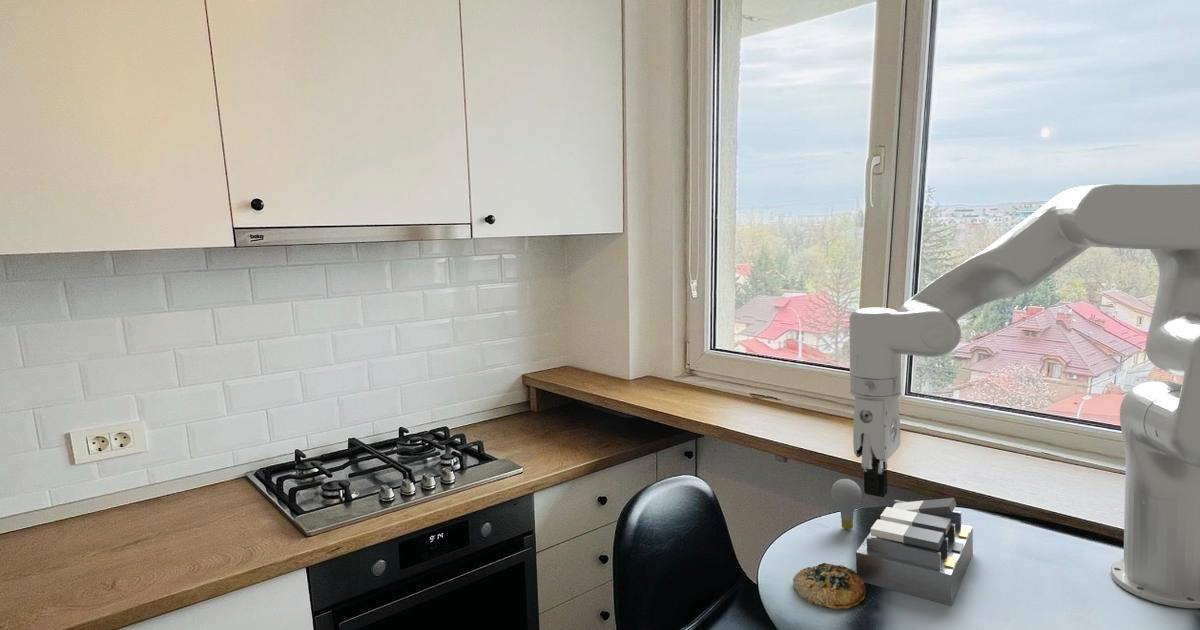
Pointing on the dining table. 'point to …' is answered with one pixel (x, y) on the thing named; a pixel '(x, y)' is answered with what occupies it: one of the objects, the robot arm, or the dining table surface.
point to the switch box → (918, 563)
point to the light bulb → (846, 500)
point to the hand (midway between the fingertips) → (875, 493)
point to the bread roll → (830, 586)
